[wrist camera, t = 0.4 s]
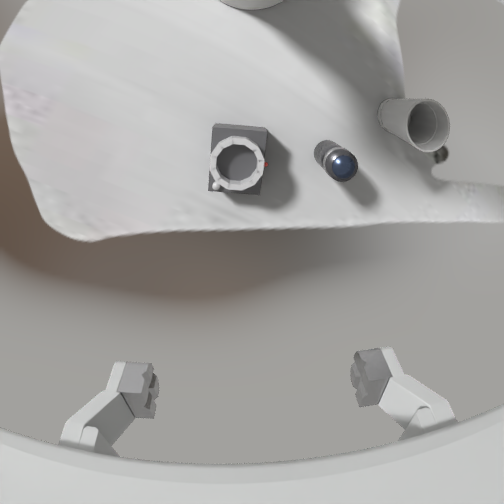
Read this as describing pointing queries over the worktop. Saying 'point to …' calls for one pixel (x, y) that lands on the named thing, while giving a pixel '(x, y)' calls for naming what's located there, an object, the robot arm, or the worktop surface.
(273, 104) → the worktop surface
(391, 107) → the cup
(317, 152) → the lens
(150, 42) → the worktop surface
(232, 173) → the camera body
